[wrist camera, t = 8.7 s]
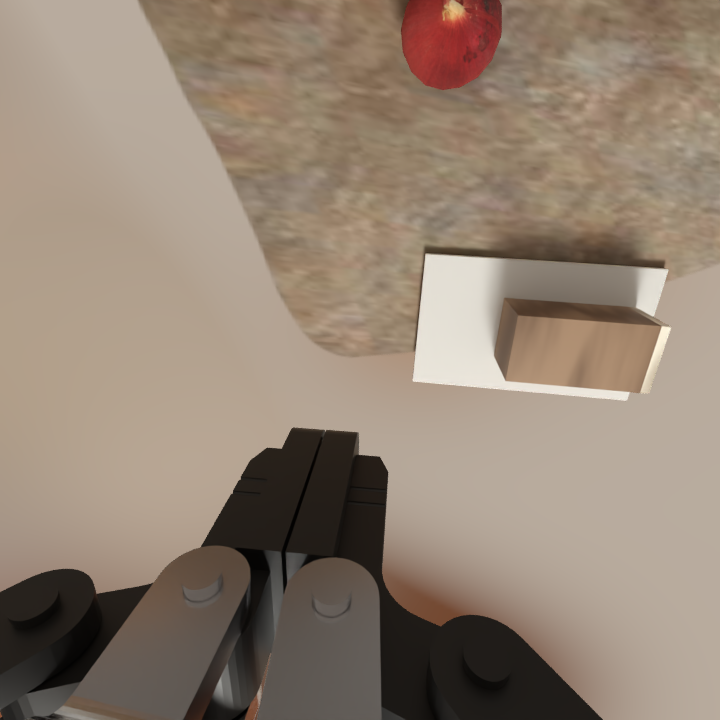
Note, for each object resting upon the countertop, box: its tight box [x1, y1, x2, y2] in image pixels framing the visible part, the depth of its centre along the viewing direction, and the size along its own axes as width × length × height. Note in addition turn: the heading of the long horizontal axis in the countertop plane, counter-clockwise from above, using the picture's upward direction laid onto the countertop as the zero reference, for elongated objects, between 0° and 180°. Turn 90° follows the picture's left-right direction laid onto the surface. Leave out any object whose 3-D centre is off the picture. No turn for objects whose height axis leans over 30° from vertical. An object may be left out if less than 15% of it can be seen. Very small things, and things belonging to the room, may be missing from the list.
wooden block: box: [494, 298, 671, 394], centre depth 33 cm, size 5×5×10 cm
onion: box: [401, 0, 502, 90], centre depth 26 cm, size 6×6×8 cm
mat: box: [413, 253, 668, 400], centre depth 35 cm, size 18×11×1 cm, turn 87°
